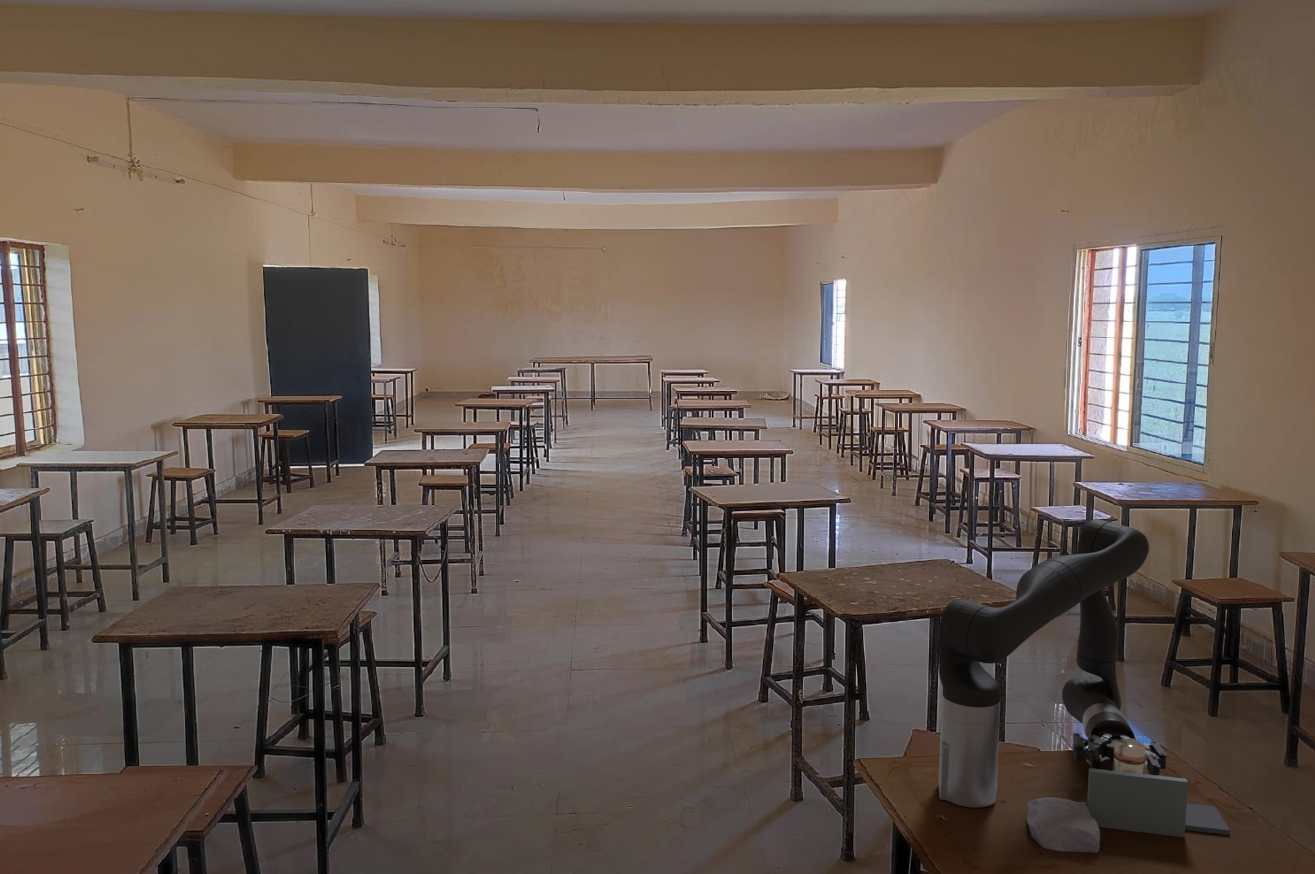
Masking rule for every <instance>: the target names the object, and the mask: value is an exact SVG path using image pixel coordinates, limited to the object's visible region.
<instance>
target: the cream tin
mask: <svg viewBox="0 0 1315 874" xmlns="http://www.w3.org/2000/svg"><path fill="white" fill-rule="evenodd" d="M1137 741H1138V740H1137ZM1137 741H1134V740H1130V739H1118V740H1116V741H1115V748H1114V761H1113V763H1112V764H1113V766H1112V771H1120V772H1129V773H1138V774H1145V772H1144V771H1145V767H1144V763H1145V760H1146V756H1145V745H1146V744H1143V743H1142V742H1141V741H1139V742H1137Z"/></svg>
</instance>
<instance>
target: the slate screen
mask: <svg viewBox="0 0 1315 874" xmlns="http://www.w3.org/2000/svg"><path fill="white" fill-rule="evenodd" d="M1188 790H1189V781H1188V780H1187V778H1184V777H1183V778H1182V777H1174V776H1166V775H1165V776H1164V775H1150V774H1146V773H1144V774H1138V773H1129V772H1120V771H1113V770H1111V769H1110V770H1108V769H1094V768H1091V767H1090V768H1088V781H1087V799H1086V800H1087V801H1086V803H1087V805H1088V810H1089V812H1090V815H1091V816H1092V817H1093V818H1094V819H1095V821H1096V822H1097V824H1098V827H1099V828H1103V829H1113V830H1122V831H1129V832H1136V833H1146V834H1155V835H1160V836H1161V835H1162V836H1169V837H1170V836H1171V837H1179V838H1185V837H1186V830H1185V824H1186V808H1187V803H1188Z"/></svg>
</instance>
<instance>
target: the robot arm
mask: <svg viewBox="0 0 1315 874" xmlns="http://www.w3.org/2000/svg"><path fill="white" fill-rule="evenodd" d="M1149 551H1150V544H1149V541H1148V538H1147V536H1146V535H1145V534H1144V532H1142V531H1140V530H1138V529H1136V528H1134V527H1130V526H1126V525H1124V524H1120V523H1115V522H1111V521H1107V520H1104V519H1099V518H1094V519H1091V520H1088V521H1087V522H1086V523H1085V524H1084V526H1083V527H1082V529H1081V531H1080V534H1079V537H1078V541H1077V549H1076V554H1068V555H1067V554H1066V555H1060V556H1059V555H1058V556H1054V557H1051V558H1048V559H1045V560H1043V561H1041V562H1040V563H1039V564H1036V565H1035V566H1033V567H1031V568H1030V569H1028V570H1026V572H1024V573H1023V574H1022V576H1020V579H1019V580H1018V582H1017V586H1016V592H1015V600H1014V601H1013V602H1011V603H1009V604H1007V605H1005V606H1002V607H992V606H989V605H985V604H981V603H978V602H974V601H971V600H966V599H955V600H952V601H951V602H949V603H948V604H947V605H946V606H945V607H944V610H943V612H942V614H941V616H940V620H939V624H938V625H939V626H938V633H937V634H938V643H937V644H938V675H939V680H940V683H941V686H942V700H941V702H942V703H941V729H940V730H941V731H940V737H939V739H940V740H939V764H938V765H939V766H938V795H939V800H942V801H947V802H949V803H952V804H954V805H957V806H960V807H966V808H977V809H978V808H986V807H990V806H992V805H994V804H995V802H997V801H996V800H997V790H998V786H997V784H998V781H997V780H998V761H999V760H998V759H999V758H998V757H999V735H1000V714H1001V713H1000V712H1001V686H1000V683H999V682H998V680H996V678H994V677H993V676H992V675H991V674H990V673H989V672H987V671H986V669H985V668H984V667H983V666H982V665H981V664H998V663H999V662H1001V661H1003V660H1004V659H1006V658H1007V657H1008V656H1010V655H1011V654H1012V653H1014V651H1016V650H1017V649H1018V648H1019V647H1020V646H1021V645H1022V644H1023V643H1025V642H1026V640H1028V639H1029V638H1030V637H1031V636H1032V635H1034V634H1035V633H1037V631H1039V630H1040V629H1042V628H1044V626H1046V625H1048V624H1049V623H1050V622H1051V621H1053V620H1055V619H1056V618H1058V617H1059V616H1061V615H1063V614H1066V612H1068V611H1069V610H1071V609H1073V608H1074V607H1076V606H1077V605H1078V604H1079V610H1080V611H1079V612H1080V614H1079V615H1080V619H1079V631H1078V633H1079V634H1078V642H1077V650H1076V651H1077V652H1076V665H1077V666H1078V668H1079V669H1080V670H1082V671H1084V672H1085V673H1088V674H1090V675H1091V674H1092V675H1095V677H1096V676H1097V677H1099V678H1101V679H1102V680H1097V679H1096V680H1094V679H1085V678H1076V677H1075V678H1072V679H1069V680H1067V681H1066V682H1065V684H1064V685H1063V687H1062V691H1061V699H1062V703H1063V706H1064V708H1065V709H1066V711H1067V713H1069V715H1070V716H1071V717H1073V718H1074V719H1075V720H1077V721H1078V722H1079V723H1080V724H1082V727H1083V732H1084V733H1083V734H1084V735H1085V736H1086V738H1084V737H1083V736H1082V735H1081V734H1080V733H1077V732H1075V733H1072V741H1071V742H1072V743H1071V744H1072V745H1071V748H1072V752H1073V756H1074V759H1075V760H1077V761H1083V760H1084V759H1085V760H1086V763H1088V764H1089V767H1090V768H1092V769H1101V767H1102V764H1101V763H1102V762H1103V761H1105V760H1107V761H1113V762H1114V748H1115V741H1116V740H1118V739H1130V740H1134V741H1137V742H1140V741H1139V740H1137V739H1136V735H1135V734H1134V732H1133V730H1132V727H1131V726H1130V724H1129V722H1128V720H1127V719H1126V717H1125V715H1124V714H1123V713H1122V712H1121V711H1120V710H1121V709H1122V700H1121V699H1122V697H1121V694H1120V689H1119V685H1118V684H1119V683H1118V679H1117V666H1116V665H1117V656H1118V648H1119V639H1120V638H1119V637H1120V636H1119V635H1120V633H1119V627H1118V623H1117V621H1116V620H1117V619H1116V617H1115V615H1114V613H1113V610H1112V608H1111V607H1110V603H1109V601H1108V598H1107V596H1106V593H1105V590H1104V588H1106V587H1108V586H1110V585H1113V584H1115V583H1118V582H1120V581H1122V580H1124V579H1127V578H1129V577H1130V576H1132V575H1134V574H1135V573H1137V571H1138V570H1140V568H1141V567H1143V565H1144V563H1145V561H1146V560H1147V558H1148V555H1149ZM1144 745H1145V757H1147V760H1146V759H1145V763H1144V768H1146V770H1147V772H1148V773H1149V774H1148V775H1157V776H1161V770H1166V769H1167V757H1168V754H1167V753H1166V751H1165V750H1164V749H1163V747H1162V746H1161V745H1160V744H1159V742H1158V741H1155V740H1150V741H1149V744H1144ZM1086 747H1087V748H1086ZM1101 770H1102V769H1101Z"/></svg>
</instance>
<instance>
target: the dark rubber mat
mask: <svg viewBox="0 0 1315 874" xmlns="http://www.w3.org/2000/svg"><path fill="white" fill-rule="evenodd" d="M1185 831H1189V832H1190V831H1193V832H1199V833H1200V832H1201V833H1207V834H1208V833H1209V834H1215V833H1217V834H1216V835H1225V836H1230V835H1231V834H1230V833H1231V830H1230V828H1229V826H1228V824H1227V823H1226V821H1225V820H1224V818H1223V817H1222V816H1221V814H1220V812H1219V811H1218V809H1217V807H1216V806H1214V805H1205V804H1204V805H1203V804H1199V803H1198V804H1197V803H1188V802H1187V808H1186V824H1185Z"/></svg>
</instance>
